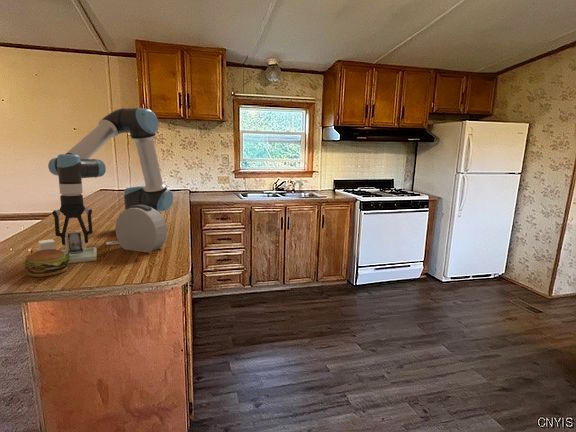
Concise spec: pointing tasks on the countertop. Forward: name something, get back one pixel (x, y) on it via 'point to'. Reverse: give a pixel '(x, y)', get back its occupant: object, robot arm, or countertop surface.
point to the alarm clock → (141, 229)
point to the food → (47, 263)
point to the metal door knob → (75, 243)
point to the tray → (83, 255)
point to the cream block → (46, 244)
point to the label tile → (113, 243)
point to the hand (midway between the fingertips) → (76, 251)
